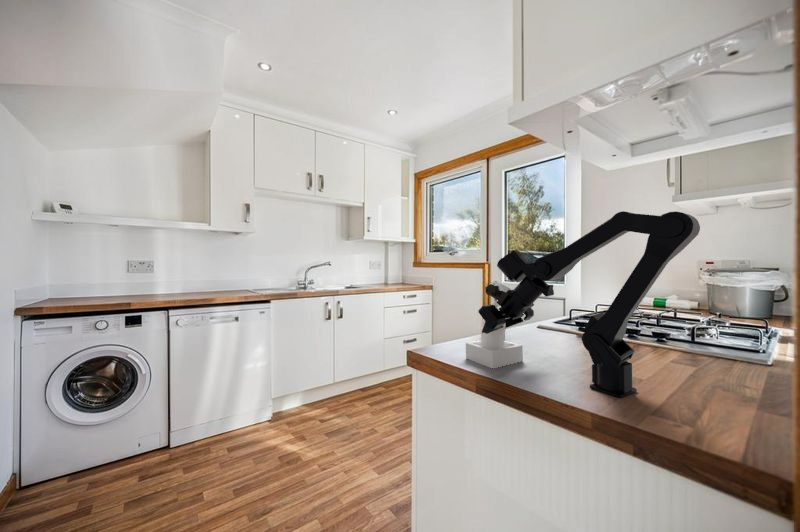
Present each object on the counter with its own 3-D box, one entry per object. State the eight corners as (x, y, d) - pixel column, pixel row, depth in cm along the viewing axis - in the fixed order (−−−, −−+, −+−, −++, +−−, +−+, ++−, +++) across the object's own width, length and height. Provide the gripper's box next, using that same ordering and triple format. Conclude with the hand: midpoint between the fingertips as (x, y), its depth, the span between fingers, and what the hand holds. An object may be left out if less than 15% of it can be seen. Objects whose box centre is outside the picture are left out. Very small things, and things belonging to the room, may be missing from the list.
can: (482, 361, 90) (485, 317, 90) (477, 356, 96) (479, 314, 97) (506, 363, 90) (509, 318, 90) (500, 357, 96) (502, 315, 97)
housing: (522, 361, 92) (522, 345, 92) (493, 368, 86) (492, 351, 86) (494, 352, 101) (493, 337, 101) (466, 358, 96) (465, 342, 96)
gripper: (522, 271, 96) (491, 306, 105) (483, 274, 84) (451, 313, 93) (550, 300, 90) (514, 334, 99) (512, 308, 78) (475, 346, 87)
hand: (489, 331), depth 95 cm, fingers closed on can, 6 cm apart
